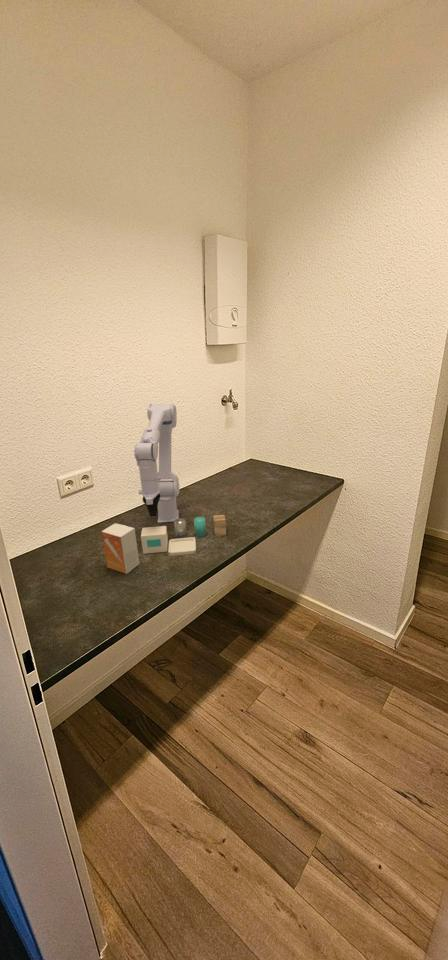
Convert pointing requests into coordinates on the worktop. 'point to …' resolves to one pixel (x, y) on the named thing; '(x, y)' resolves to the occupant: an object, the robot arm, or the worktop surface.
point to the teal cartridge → (200, 526)
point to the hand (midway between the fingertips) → (153, 515)
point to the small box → (120, 548)
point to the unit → (154, 539)
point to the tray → (182, 546)
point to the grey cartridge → (180, 528)
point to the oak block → (219, 525)
